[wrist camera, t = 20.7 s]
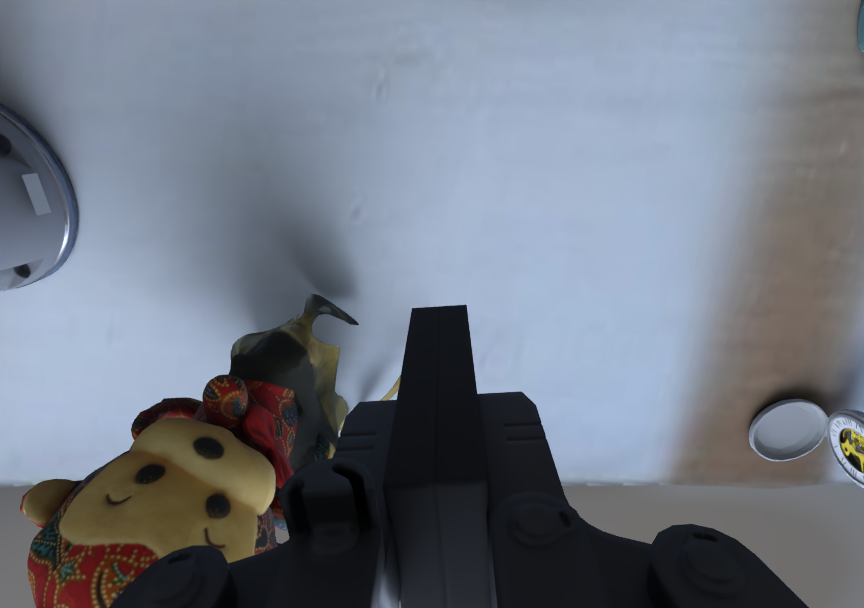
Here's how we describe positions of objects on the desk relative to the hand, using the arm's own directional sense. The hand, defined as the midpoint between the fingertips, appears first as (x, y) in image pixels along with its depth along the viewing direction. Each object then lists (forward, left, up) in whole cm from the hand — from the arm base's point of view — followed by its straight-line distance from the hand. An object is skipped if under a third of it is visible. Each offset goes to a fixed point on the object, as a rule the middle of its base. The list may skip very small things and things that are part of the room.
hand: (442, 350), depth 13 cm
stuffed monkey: (-9, -16, -25) cm, 31 cm away
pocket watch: (+36, -14, -25) cm, 46 cm away
